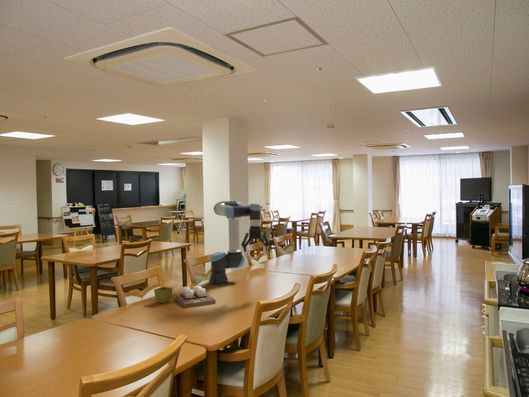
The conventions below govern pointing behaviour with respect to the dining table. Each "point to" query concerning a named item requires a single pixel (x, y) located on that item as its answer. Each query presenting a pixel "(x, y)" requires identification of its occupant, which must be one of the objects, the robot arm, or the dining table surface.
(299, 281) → the dining table surface
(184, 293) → the white egg
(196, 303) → the egg tray
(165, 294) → the flower pot
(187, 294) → the cream rounded oval
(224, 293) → the dining table surface
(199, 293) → the white egg
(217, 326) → the dining table surface
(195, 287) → the white egg
